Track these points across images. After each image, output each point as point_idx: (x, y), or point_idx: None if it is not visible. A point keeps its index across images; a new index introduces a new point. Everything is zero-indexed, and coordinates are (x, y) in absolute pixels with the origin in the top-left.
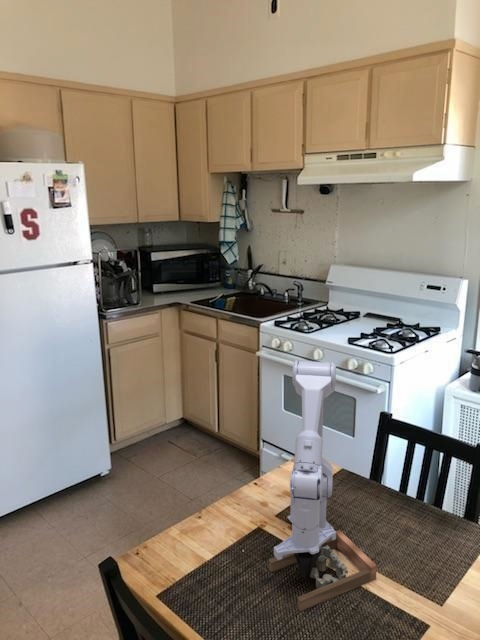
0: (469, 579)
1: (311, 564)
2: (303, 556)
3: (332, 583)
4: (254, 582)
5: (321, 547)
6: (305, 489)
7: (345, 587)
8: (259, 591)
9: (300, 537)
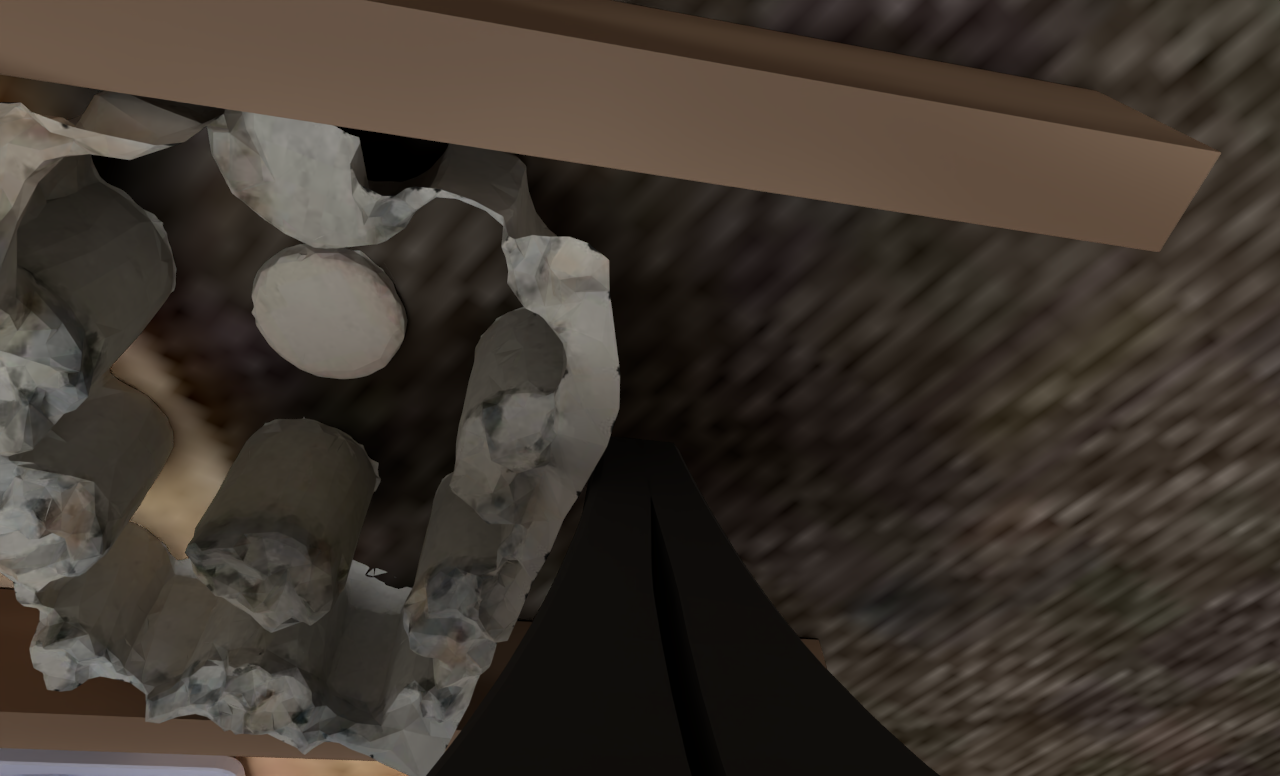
0: None
1: (627, 619)
2: None
3: (413, 117)
4: (1022, 625)
5: (151, 686)
6: None
7: None
8: (1093, 543)
9: None
